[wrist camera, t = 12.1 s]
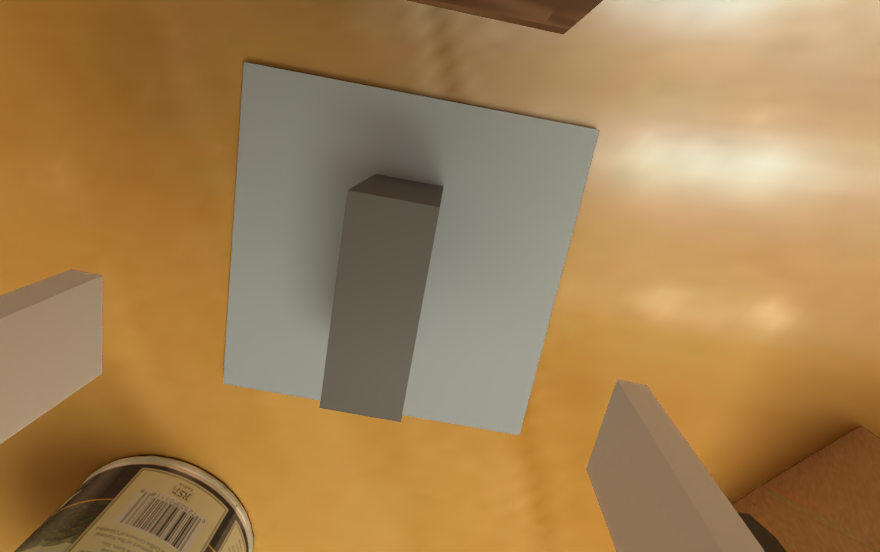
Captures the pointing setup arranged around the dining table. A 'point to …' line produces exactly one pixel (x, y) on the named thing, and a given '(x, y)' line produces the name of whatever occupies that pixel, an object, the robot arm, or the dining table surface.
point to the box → (524, 11)
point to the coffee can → (146, 512)
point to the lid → (396, 248)
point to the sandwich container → (824, 499)
